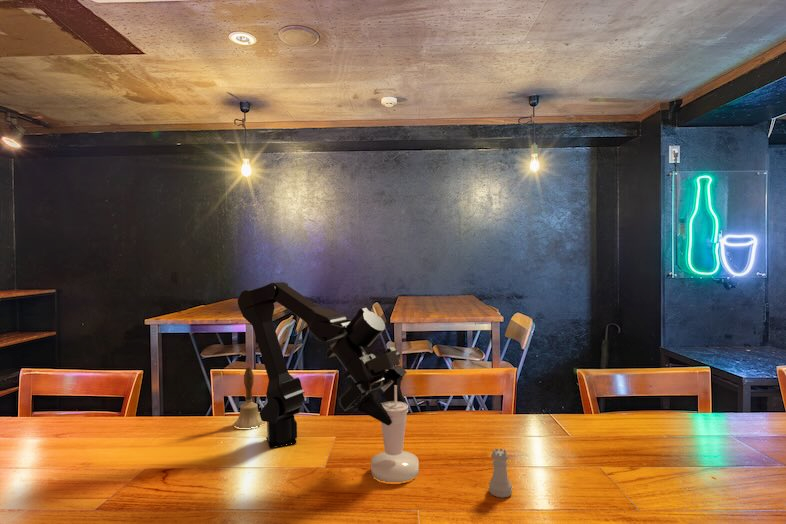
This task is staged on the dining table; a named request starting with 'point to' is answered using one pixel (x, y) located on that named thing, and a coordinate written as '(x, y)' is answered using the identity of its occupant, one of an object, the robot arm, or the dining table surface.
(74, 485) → the dining table surface
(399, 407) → the smoothie
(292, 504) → the dining table surface
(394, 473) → the stand
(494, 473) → the rook chess piece
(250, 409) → the hand bell
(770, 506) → the dining table surface
